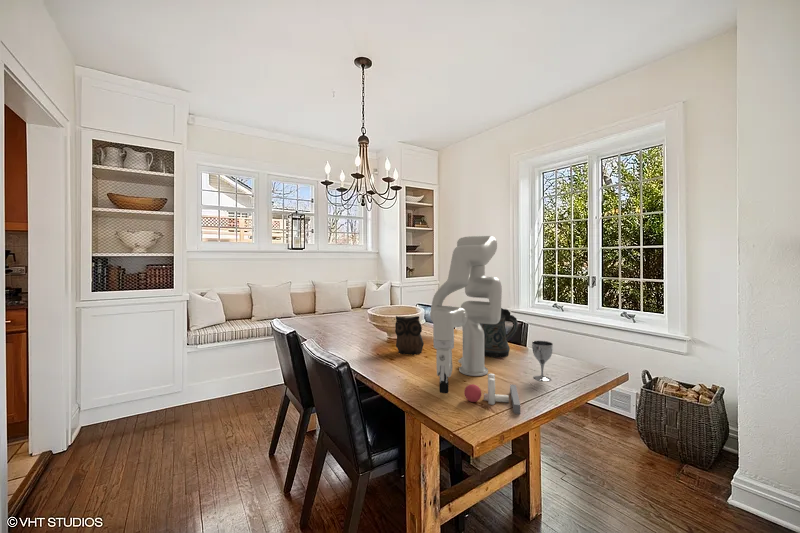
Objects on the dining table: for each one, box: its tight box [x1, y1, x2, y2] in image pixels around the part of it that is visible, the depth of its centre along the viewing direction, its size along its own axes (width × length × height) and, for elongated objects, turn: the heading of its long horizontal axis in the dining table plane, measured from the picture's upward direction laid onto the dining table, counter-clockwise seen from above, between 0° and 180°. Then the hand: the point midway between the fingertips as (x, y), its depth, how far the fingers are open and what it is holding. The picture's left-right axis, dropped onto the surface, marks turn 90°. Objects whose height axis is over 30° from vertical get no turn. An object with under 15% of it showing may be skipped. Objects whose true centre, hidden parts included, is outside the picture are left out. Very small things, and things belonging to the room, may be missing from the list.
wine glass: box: [531, 340, 554, 382], centre depth 147 cm, size 8×8×15 cm
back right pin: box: [487, 378, 496, 406], centre depth 124 cm, size 2×2×8 cm
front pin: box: [483, 393, 510, 404], centre depth 126 cm, size 2×2×8 cm
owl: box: [394, 315, 425, 356], centre depth 188 cm, size 13×13×20 cm
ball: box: [463, 383, 482, 403], centre depth 125 cm, size 6×6×6 cm
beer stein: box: [481, 307, 519, 358], centre depth 185 cm, size 16×19×25 cm
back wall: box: [509, 384, 521, 415], centre depth 124 cm, size 18×2×3 cm, turn 166°
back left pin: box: [487, 373, 496, 380], centre depth 128 cm, size 2×2×8 cm
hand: (444, 392), depth 130 cm, fingers closed
